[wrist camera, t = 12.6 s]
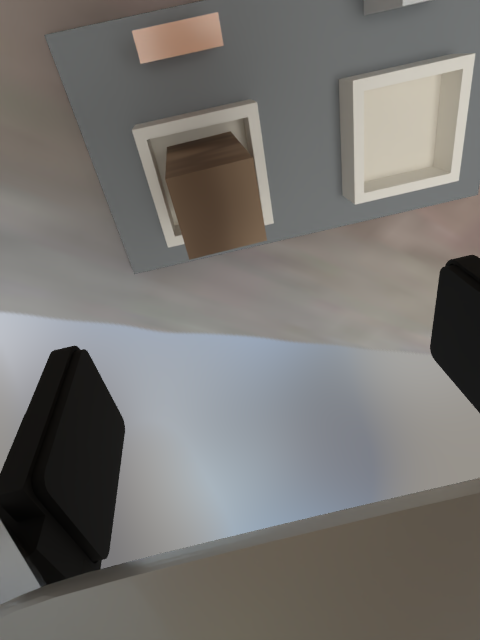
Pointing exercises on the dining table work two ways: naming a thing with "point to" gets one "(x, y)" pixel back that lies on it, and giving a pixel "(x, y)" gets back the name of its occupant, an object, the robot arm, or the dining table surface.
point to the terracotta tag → (178, 38)
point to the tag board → (283, 112)
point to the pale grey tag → (387, 5)
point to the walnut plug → (214, 194)
